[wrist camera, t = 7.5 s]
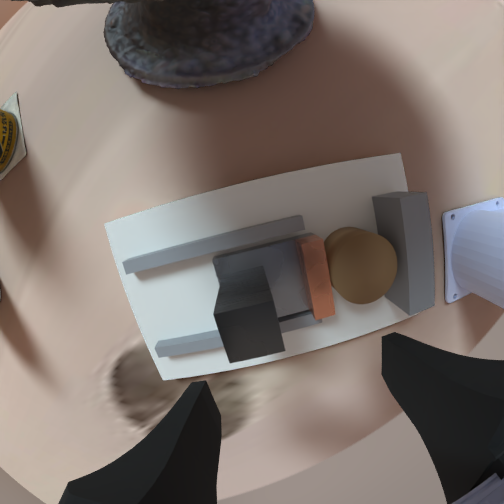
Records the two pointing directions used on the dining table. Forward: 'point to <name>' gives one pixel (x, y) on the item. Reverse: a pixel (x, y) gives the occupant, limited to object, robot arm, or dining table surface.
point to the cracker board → (260, 232)
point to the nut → (360, 264)
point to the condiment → (10, 136)
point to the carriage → (269, 293)
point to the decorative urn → (199, 37)
